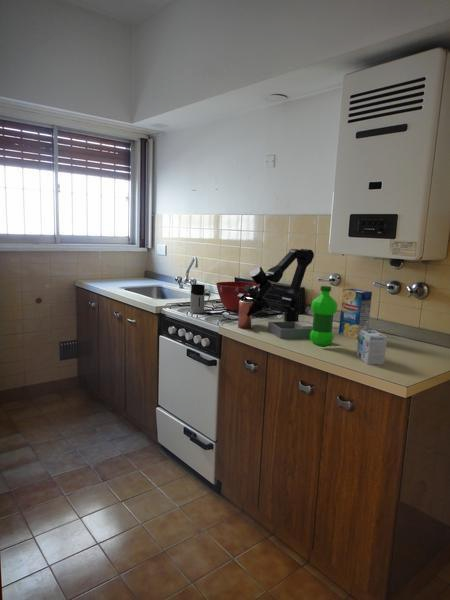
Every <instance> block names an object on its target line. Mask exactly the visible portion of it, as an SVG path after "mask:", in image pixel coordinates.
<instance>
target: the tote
mask: <svg viewBox="0 0 450 600" xmlns="http://www.w3.org/2000/svg"><path fill="white" fill-rule="evenodd" d="M308 322H309V323H311V324H313V322H310V321H308ZM267 325H268V326H267V331H268V332H269V333H271V334H273V335H275V336H276V337H278V338H279V339H282V340H283V339H310V332H311V331H312V329H313V328H307V329H294V328H295V322H286V321H268V323H267Z"/></svg>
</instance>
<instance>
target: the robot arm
mask: <svg viewBox="0 0 450 600" xmlns="http://www.w3.org/2000/svg"><path fill="white" fill-rule="evenodd" d="M314 257H315V254H314V251H313V250H312V249H307V248H305V249H304V248H300V249H297V248H291V249H289V250H288V252H287V253H286V255H284V257H282V259H281V260H280V261H279V262H278V263H277V264H276V265H274V266H272V267H270V268H269V269H268V270H267V271H264V269H263V268H262V267H261V266H257V267H256V268H254V269H252V270H251V271H250V272H249V276H250V278H251V279H252V280H253V283H256V284H259V285H258V286H253V287H252V286H248V285H245V287H244V289H243V291H244V292H246V293H248V294H247V295H248V296H249V298H248V297H247V295H246V294H242V293H239V295H238V296H237V297H238V298H239V300H251V301H253V306H252V308H251V309H250V310H249V312H248V314H247V316H250V315H252V316H253V315H254V314H256V313H258V312H262V311H264V310H265V311H268V310H269V308H270V305H271V304H270V303H269V301H267V299H266V298H267V294H268V292H269V291H270V290H272V291H274V290H275V285H274V284H272V283H275V284H276V283H279V282H280V280H281V279H282V278H283V277H284V272H285V271H287V269H288V268H289V266H291V264H292V263H294V261H295V260H296V264H297V266H296V268H295V272H294V274H293V277H292V281H291V284H290V287H289V289H288V290H287V291H284V292H283V296H282V298H281V304H282V306H283V310H285V312H284V318H283V322H300V321H299V316H300V315H299V314H300V312H302V310H303V306H302V304H301V303H300V293H299V292H300V289H301V286H302V283H303V279H304V276H305V273H306V271H307V267H308V266H309V265H311V264H312V262H313V259H314ZM237 314H239V311H237Z"/></svg>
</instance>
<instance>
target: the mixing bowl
mask: <svg viewBox="0 0 450 600" xmlns="http://www.w3.org/2000/svg"><path fill="white" fill-rule="evenodd" d="M215 285H216V290H217V293H218V296H219V299H220V301H221V302H220V303H221V304H222V305H223V307H224V308H225V309H227V310H229V311H231V312H238V311H239V298H238V297H237V296H238V295H239V293H242V294H246V295H247V294H248V293H246V292H244V291H243V289H244V287H245V285H248V286H252V287H253V286H258V285H259V284H256V283H255V282H250V281H249V282H248V281H218V282H216V283H215ZM247 297H248V298H249V296H248V295H247ZM252 306H253V305H252Z"/></svg>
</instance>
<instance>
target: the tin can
mask: <svg viewBox="0 0 450 600" xmlns="http://www.w3.org/2000/svg"><path fill="white" fill-rule="evenodd" d="M252 305H253V301H251V300H239V313H238V320H237V328H238V329H242V330H249V329H252V319H253V314H252V315H250V316H247V314H248V312H249V310H250V309H251V308H252Z"/></svg>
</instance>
